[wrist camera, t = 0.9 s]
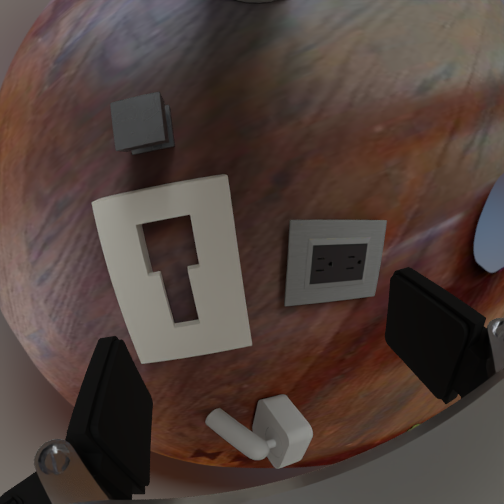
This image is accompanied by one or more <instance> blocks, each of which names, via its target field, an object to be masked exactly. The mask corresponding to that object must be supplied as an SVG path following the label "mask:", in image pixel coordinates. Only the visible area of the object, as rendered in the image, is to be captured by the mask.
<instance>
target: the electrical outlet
mask: <svg viewBox="0 0 504 504" xmlns="http://www.w3.org/2000/svg"><path fill="white" fill-rule="evenodd" d="M386 222H387V221H386V220H290V223H289V241H288V257H287V273H286V287H285V300H284V306H294V305H304V304H314V303H323V302H331V301H340V300H348V299H355V298H363V297H370V296H375V291H376V286H377V281H378V275H379V270H380V264H381V258H382V251H383V245H384V238H385V230H386Z"/></svg>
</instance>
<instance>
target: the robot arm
mask: <svg viewBox="0 0 504 504" xmlns="http://www.w3.org/2000/svg"><path fill="white" fill-rule="evenodd" d="M237 1H243V2H252V3H262V2H270V1H275V0H237ZM485 320H486V317H484V316H483V315H481V314H480V313H478V312H477V311H476V310H474V309H473V308H471V307H470V306H468V305H467V304H465V303H464V302H462V301H461V300H460V299H458V298H457V297H455V296H454V295H452V294H451V293H449V292H448V291H446V290H445V289H443V288H441V287H440V286H438V285H437V284H435V283H434V282H432V281H431V280H429V279H428V278H426V277H424V276H423V275H421V274H420V273H418V272H416V271H415V270H413V269H412V268H409V267H407V268H404V269H400V270H397V271H395V272H394V274H393V276H392V277H391V279H390V291H389V303H388V314H387V323H386V331H385V340H386V342H387V344H388V345H389V346H390V347H391V349H392V350H393V351H394V352H395V353H396V354H397V355H398V356H399V357H400V358H401V359H402V360H403V361H404V363H405V364H406V365H407V366H408V367H409V368H410V369H411V370H412V371H413V372H414V373H415V375H416V376H417V377H418V378H419V379H420V380H421V381H422V382H423V383H424V384H425V386H426V387H427V388H428V389H429V390H430V391H431V392H432V393H433V394H434V396H435V397H436V398H438V399H442V401H443V402H444V403H445V404H447V403H449V402H450V401H452V400H453V399H455V398H456V397H457V395H458V394H459V395H460V396H461V399H460V400H459V401H457V402H456V403H454V404H453V405H451V406H450V407H448V408H447V409H445V410H444V411H442V412H440V413H439V414H437V415H435V416H434V417H432V418H430V419H429V420H427V421H425V422H424V423H422V424H420V425H418V426H417V427H415V428H413V429H411V430H409V431H407V432H405V433H403V434H402V435H400V436H398V437H396V438H394V439H392V440H390V441H388V442H386V443H383V444H381V445H379V446H377V447H375V448H373V449H370V450H368V451H366V452H364V453H361V454H359V455H356V456H354V457H351V458H349V459H346V460H344V461H341V462H339V463H336V464H333V465H330V466H328V467H325V468H322V469H319V470H316V471H313V472H310V473H306V474H303V475H300V476H296V477H293V478H289V479H286V480H282V481H278V482H275V483H270V484H266V485H262V486H257V487H253V488H247V489H242V490H237V491H231V492H225V493H218V494H211V495H203V496H193V497H184V498H170V499H149V500H132V494H145V486H148V485H149V482H150V445H151V425H152V409H153V402H152V398H151V395H150V393H149V391H148V389H147V388H146V386H145V384H144V382H143V380H142V378H141V376H140V374H139V372H138V370H137V368H136V366H135V364H134V362H133V360H132V358H131V356H130V353H129V351H128V349H127V347H126V345H125V343H124V341H123V340H119V339H118V338H117V337H116V336H112V337H106V338H100V339H99V340H98V343H97V345H96V348H95V350H94V353H93V356H92V358H91V361H90V363H89V366H88V369H87V372H86V374H85V377H84V380H83V383H82V386H81V389H80V392H79V395H78V398H77V401H76V404H75V407H74V410H73V413H72V417H71V420H70V424H69V427H68V430H67V436H66V439H65V440H61V439H54V440H51V441H48V442H46V443H44V444H43V445H42V446H41V447H40V448H39V449H38V451H37V453H36V455H35V459H34V465H35V469H36V472H35V473H33V474H32V475H30V476H29V477H27V478H26V479H25V480H23V481H22V482H20V483H19V484H17V485H16V486H14V487H13V488H11V489H10V490H8V491H7V492H5V493H4V494H3V495H2V496H1V497H0V504H504V318H496V319H494V320H492V321H490V322H489V324H488V326H487V328H485V327H484V323H485Z"/></svg>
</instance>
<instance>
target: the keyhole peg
mask: <svg viewBox="0 0 504 504" xmlns="http://www.w3.org/2000/svg"><path fill="white" fill-rule="evenodd" d="M110 104H111V115H112V124H113V133H114V141H115V148H116V151H125V152H128V151H132V155H136V154H140V153H145V152H150V151H154V150H159V149H165V148H170V147H175V143H174V135H173V128H172V120H171V111H170V106H169V105H165V104H164V100H163V98H162V96H161V94H160V92H155V93H150V94H146V95H141V96H137V97H132V98H128V99H124V100H120V101H116V102H113V103H110Z"/></svg>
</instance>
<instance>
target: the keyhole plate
mask: <svg viewBox="0 0 504 504" xmlns="http://www.w3.org/2000/svg"><path fill="white" fill-rule="evenodd" d="M92 207H93V212H94V217H95V221H96V225H97V230H98V234H99V238H100V242H101V246H102V250H103V253H104V257H105V261H106V264H107V268H108V271H109V274H110V278H111V281H112V284H113V288H114V291H115V294H116V297H117V300H118V303H119V306H120V309H121V312H122V315H123V317H124V320H125V323H126V326H127V328H128V331H129V334H130V336H131V339H132V342H133V344H134V347H135V349H136V352H137V354H138V357H139V359H140V361H141V364H144V363H152V362H160V361H167V360H174V359H181V358H187V357H193V356H199V355H205V354H211V353H216V352H222V351H227V350H232V349H237V348H242V347H247V346H252V340H251V334H250V327H249V320H248V314H247V307H246V301H245V294H244V287H243V280H242V273H241V267H240V260H239V253H238V246H237V239H236V232H235V225H234V217H233V210H232V203H231V196H230V188H229V181H228V175H226V174H221V175H214V176H208V177H202V178H196V179H190V180H185V181H179V182H174V183H168V184H163V185H158V186H153V187H148V188H143V189H139V190H134V191H129V192H125V193H120V194H116V195H112V196H108V197H103V198H100V199H98V200H96V201H94V202H92ZM185 215H190V217H191V223H192V228H193V234H194V239H195V245H196V250H197V255H198V261H199V264H196V265H191V266H188V274H189V279H190V283H191V288H192V292H193V296H194V301H195V305H196V309H197V313H198V318H199V319H198V320H192V321H186V322H180V323H174V319H173V316H172V312H171V309H170V305H169V301H168V298H167V294H166V290H165V286H164V282H163V278H162V274H161V271H157V272H153V270H152V266H151V262H150V258H149V254H148V250H147V245H146V241H145V237H144V232H143V227H142V224H143V223H148V222H153V221H158V220H164V219H169V218H174V217H180V216H185Z"/></svg>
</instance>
